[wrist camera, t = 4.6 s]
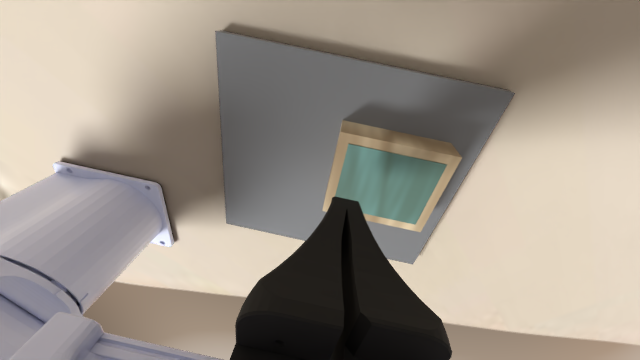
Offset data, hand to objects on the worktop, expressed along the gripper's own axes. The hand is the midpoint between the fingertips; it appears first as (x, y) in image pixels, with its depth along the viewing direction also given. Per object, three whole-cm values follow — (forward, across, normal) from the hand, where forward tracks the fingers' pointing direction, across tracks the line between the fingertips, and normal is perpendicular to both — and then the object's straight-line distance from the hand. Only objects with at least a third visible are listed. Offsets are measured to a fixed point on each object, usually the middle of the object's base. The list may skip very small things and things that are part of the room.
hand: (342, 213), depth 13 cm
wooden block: (+4, +1, 0) cm, 4 cm away
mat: (+6, 0, +1) cm, 6 cm away
